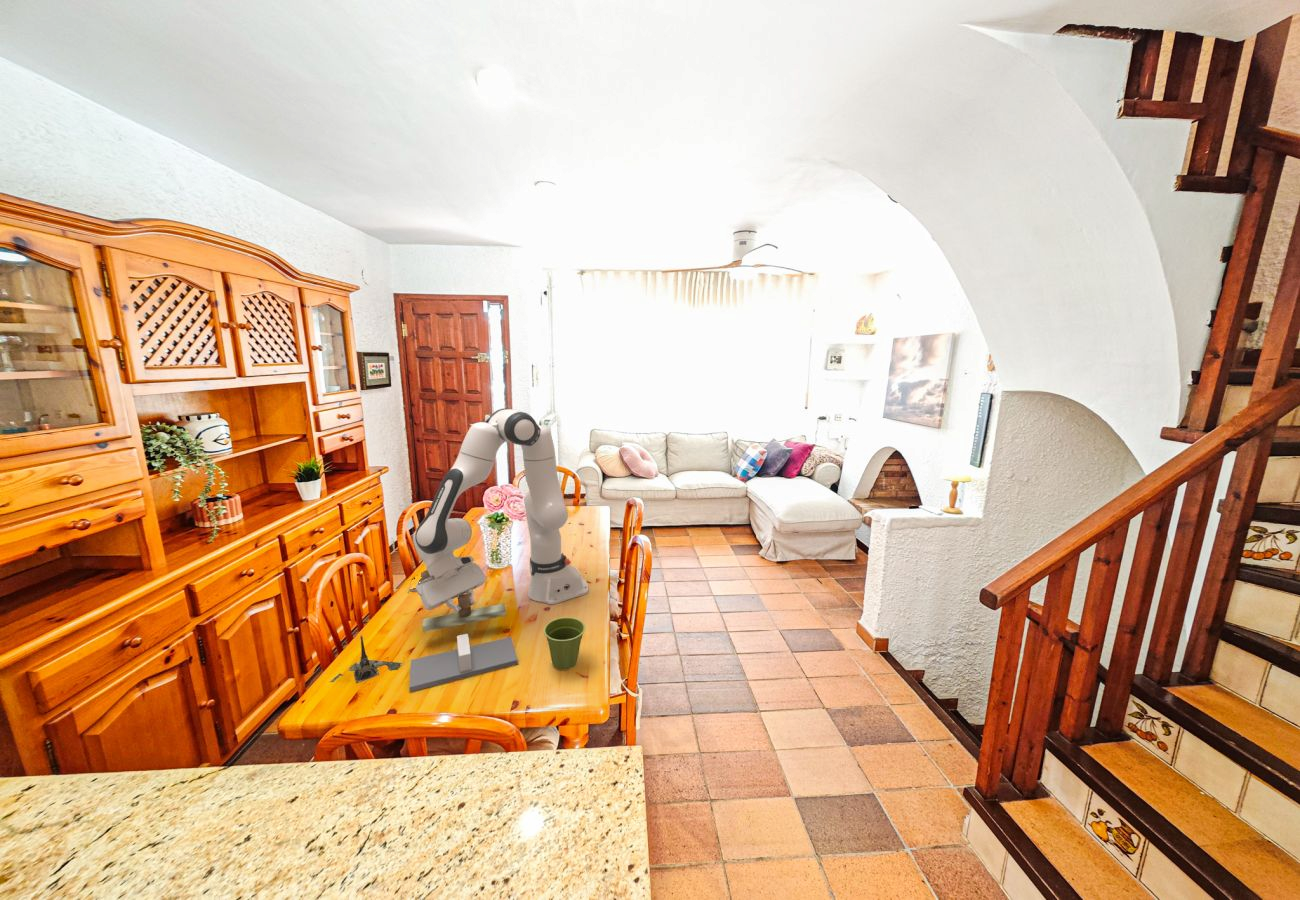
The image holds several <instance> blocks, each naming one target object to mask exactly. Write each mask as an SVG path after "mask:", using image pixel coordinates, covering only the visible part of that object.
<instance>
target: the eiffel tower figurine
mask: <svg viewBox="0 0 1300 900" xmlns="http://www.w3.org/2000/svg"><path fill="white" fill-rule="evenodd" d="M363 639H364V637H363V635H360V648H361V650H360V651H361V653H360V655H361V656H360V661H358V662H355V663H353V664H352V665H351V666H350V667H349V668H348V672H353V676H354V680H355V683H356V684H359V683H362V682H364V681H367V680H369V679H373V678H374V677H377V676H380V673H379V670H378V668H380V667H383V666H387V670H388V671H390V672H392V671H397V670H398V669H400V667H402V665H403V664H404V663H403V662H398V661H397V662H396V661H383V660H375V659H369V658H368V655H367V653H366V649H365V645H364V644H365V643H364V640H363ZM340 676H343V674H342V673H338V674H337V675H336V676H335V677H333V679H331V680H330V682H331V683H334V682H335V681H336V680H337V679H339V678H340Z"/></svg>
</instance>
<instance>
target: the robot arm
mask: <svg viewBox="0 0 1300 900" xmlns="http://www.w3.org/2000/svg"><path fill="white" fill-rule="evenodd" d="M504 443H511V444H514V445H516V446H517V445H518V446H521V450H522V459H523V467H524V474H525V481H526V483H527V484H526V485H527V487H528V491H527V492H526V494H525V496H524V498H523V503H524V504H523V505H524V509H525V513H526V514H525V515H526V520H527V521H526V522H527V526H528V528H527V529H528V533H529V538H530V558H529V572H530V581H529V587H528V590H527V597H528V598H529V599H531V600H533V601H535V602H539V603H545V604H549V605H556V604H558V603H559V604H560V603H561V602H565V601H569V600H571V599H573V598H577V597H580V596H583V595H586V594H588V593H589V585H588V583H587V581H586V580H585V579H584V578H583V577H582V574H581V573H580V571H579V570H578V569H577V567H575V566H573V565H571V560H570V559H569V558H568V557H567V555H565V554H564V553H563V552H562V536H561V535H562V534H561V532H560V529H561V528H563V526H564V525H566V523H567V521H568V520H569V519H568V518H569V512H568V510H567V507H566V503H565V499H564V495H563V492H562V488H561V484H560V479H559V476H558V467H557V458H556V451H555V444H554V440H553V438H552V434H551V431H550V429H549V428H548V427H546V426H544V425H541V424H540V425H539V424H538V423H537V422H536V420H535V419H534V417H532V416H531V415H530V414H529V413H527V412H523V411H521V410H518V409H515V408H513V409H512V408H511V409H510V408H500V409H497V410H496V411H494V412H493V413H492V414H491V415H490V416H489V417H488V418H487V419H486V420H485V421H482V422H480V421H479V422H478V421H477V422H474V423H472V425H470V427H469V429H468V431H467V433H466V435H465V436H464V438H463V441H462V443H461V447H460V449H459V452H458V455H457V457H456V460H455V461H454V463H453V465H452V466H451V468H450V469H449V471H448V472H446V474H445V475H444V476H443V478H442V480H441V482H440V484H439V487H437V488H438V489H437V490H436V492H435V495H434V498H433V500H432V502H431V504H430V506H429V509H428V511H427V513H426V515H425V516H424V518H423V519H422V520H421V522H420V523H419V525H417V528H416V530H415V531H414V532H413V534H412V543H413V545H414V547H415V551H416V552H417V554H418V556H419V558H420V559H421V561H423V563H424V564H425V569H426V570H427V571H428V573H429V575H430V577H428V578H426V579H425V580H421V581H419V582H418V584H417V585H416V591H417V592H416V593H417V594H418V595H419V596H420V600H421V603H422V606H423V607H424V609H425V610H427V611H431V610H433V609H436V608H437V607H440V606H442V605H446V607H448V608H449V609H452V610H453V611H454V612H453V613H458V612H460V611H461V610H462V609H461V607H460V605H458V604H455V603H454V600H455V599H457V598H458V597H459V596H460V595H463V594H468V595H470V605H471V606H474V605H475V604H476V600H475V598H474V590H475V589H477V588H479V587H481V586H483V585H484V584H485V583H486V582H487V576H486V574H485V572H484V571H483V569H482V568H481V566H479V564H477V563H476V562H474V561H475V560H474V557H473V556H471V555H468V556H456V557H455V555H454V552H455V551H456V550H458V549H461V548H462V547H464V546H466V545H467V544H468V543H469V542H470V541H471V537H472V527H471V524H470V523H469V522H468V521H467V520H466V519H464V518H460V517H459V518H458V517H455V518H450V516H451V514H452V512H453V510H454V507H455V504H456V502H457V500H458V498H459V497H460V496H461V494H462V493H464V492H465V491H466V490H468V489H470V488H472V487H473V486H477V485H478V484H481V483H483V482H484V481H485V480H487V478H488V477H489V476H490V473H492V469H493V467H494V464H495V461H496V457H497V453H498V451H499V449H500V448H501V446H502V445H504Z"/></svg>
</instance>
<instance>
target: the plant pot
mask: <svg viewBox="0 0 1300 900" xmlns="http://www.w3.org/2000/svg"><path fill="white" fill-rule="evenodd" d="M585 631H586V625H585V623H584V621H583V620H580V619H579V618H576V617H573V616H571V617H570V616H564V617H563V616H561V617H557V618H554V619H552V620H550V621H549V622H547V623H546V624H545V626H544V627H543V634H544V636H545V637H546V641H547V644H548V648H549V654H550V659H551V664H552V666H553V667H554V668H555V669H557V670H558V671H567V670H569V669H571V668H574V667H575V666H576V665H577V663H578V658H579V654H580V653H579V652H580V647H581V642H582V638H583V634H584V633H585Z"/></svg>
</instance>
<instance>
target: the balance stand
mask: <svg viewBox="0 0 1300 900" xmlns="http://www.w3.org/2000/svg"><path fill="white" fill-rule="evenodd" d="M456 639H457V640H456V641H457V642H456V644H457V649H453V650H448V651H442V652H439V653H435V654H431V655H427V656H422V657H417V658H414V659H411V660H410V668H409V687H408V689H409V693H412V692H416V691H419V690H424V689H427V688H432V687H436V686H438V685H444V684H447V683H452V682H455V681H458V680H459V681H460V680H464V679H466V678H470V677H474V676H477V675H482V674H485V673H489V672H493V671H497V670H501V669H505V668H509V667H513V666H516V665H519V659H518V656H517V652H516V649H515V645H514V642H513V638H512V636H508V637H504V638H500V639H495V640H491V641H487V642H481V643H477V644H474V645H470V641H469V634H468V633H464V634H459V635H457V636H456Z"/></svg>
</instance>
